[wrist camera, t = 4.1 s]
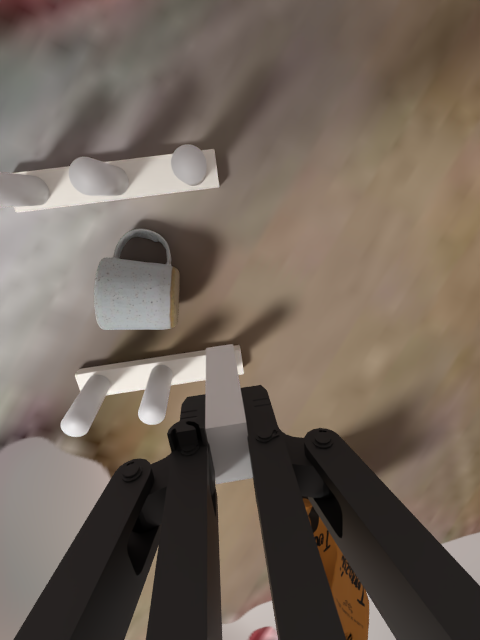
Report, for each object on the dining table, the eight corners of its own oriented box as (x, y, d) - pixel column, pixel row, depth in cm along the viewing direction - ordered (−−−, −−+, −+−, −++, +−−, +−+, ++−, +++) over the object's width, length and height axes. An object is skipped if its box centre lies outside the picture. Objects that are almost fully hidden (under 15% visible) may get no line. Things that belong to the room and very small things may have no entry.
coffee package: (316, 453, 51) (390, 628, 30) (335, 504, 55) (410, 685, 35) (257, 475, 51) (292, 661, 31) (281, 523, 56) (325, 713, 35)
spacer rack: (87, 392, 43) (56, 443, 34) (10, 175, 33) (-61, 167, 24) (242, 368, 44) (251, 411, 35) (214, 150, 34) (216, 134, 25)
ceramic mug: (181, 317, 40) (176, 342, 33) (113, 315, 39) (93, 340, 32) (182, 230, 37) (176, 237, 29) (108, 225, 36) (83, 231, 28)
